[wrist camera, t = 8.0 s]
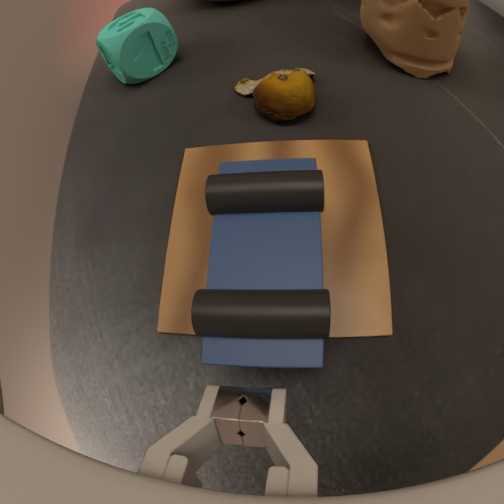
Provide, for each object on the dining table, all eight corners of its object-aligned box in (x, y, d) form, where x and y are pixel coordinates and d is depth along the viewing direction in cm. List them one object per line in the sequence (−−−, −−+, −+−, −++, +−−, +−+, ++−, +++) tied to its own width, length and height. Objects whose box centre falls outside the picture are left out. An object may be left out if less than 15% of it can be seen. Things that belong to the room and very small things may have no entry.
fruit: (307, 69, 29) (305, 42, 26) (338, 115, 26) (340, 86, 22) (233, 85, 29) (226, 59, 26) (251, 136, 26) (244, 106, 23)
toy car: (186, 362, 13) (210, 148, 18) (221, 365, 19) (232, 201, 23) (330, 367, 12) (319, 142, 17) (320, 367, 18) (316, 199, 22)
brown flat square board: (159, 332, 21) (157, 331, 21) (186, 150, 27) (185, 148, 26) (391, 335, 18) (392, 334, 18) (366, 142, 24) (366, 140, 24)
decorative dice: (133, 92, 32) (107, 44, 25) (113, 76, 35) (89, 35, 28) (185, 58, 33) (166, 9, 26) (158, 46, 36) (140, 5, 29)
